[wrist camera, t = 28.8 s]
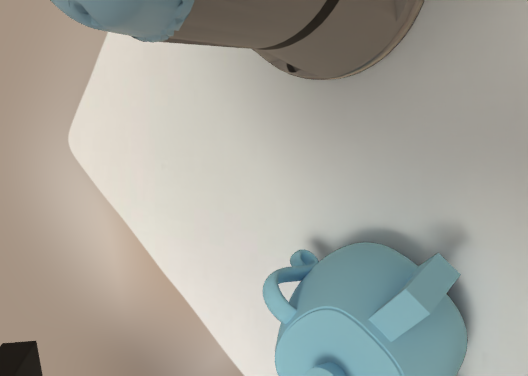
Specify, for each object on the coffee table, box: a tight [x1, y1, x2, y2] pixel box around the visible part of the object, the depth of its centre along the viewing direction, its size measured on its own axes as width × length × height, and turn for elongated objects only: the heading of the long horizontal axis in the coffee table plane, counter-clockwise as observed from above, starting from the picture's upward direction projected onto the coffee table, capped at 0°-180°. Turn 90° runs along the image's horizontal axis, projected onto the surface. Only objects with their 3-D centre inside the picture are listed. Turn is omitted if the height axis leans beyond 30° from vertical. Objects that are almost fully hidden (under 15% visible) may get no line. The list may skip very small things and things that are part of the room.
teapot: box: [263, 242, 467, 376], centre depth 33 cm, size 20×17×12 cm
